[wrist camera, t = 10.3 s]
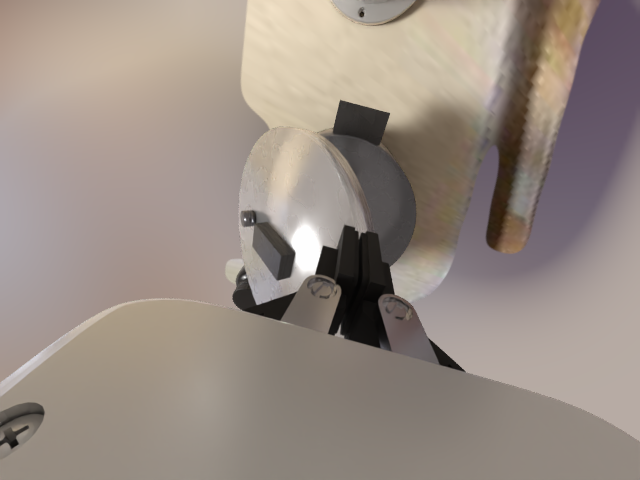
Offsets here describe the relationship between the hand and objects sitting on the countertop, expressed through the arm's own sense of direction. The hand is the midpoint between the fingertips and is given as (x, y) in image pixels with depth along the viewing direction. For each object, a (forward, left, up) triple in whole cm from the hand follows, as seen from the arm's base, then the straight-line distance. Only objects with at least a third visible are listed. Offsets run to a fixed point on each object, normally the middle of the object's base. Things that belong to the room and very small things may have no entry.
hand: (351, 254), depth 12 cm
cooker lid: (+5, -4, -8) cm, 10 cm away
